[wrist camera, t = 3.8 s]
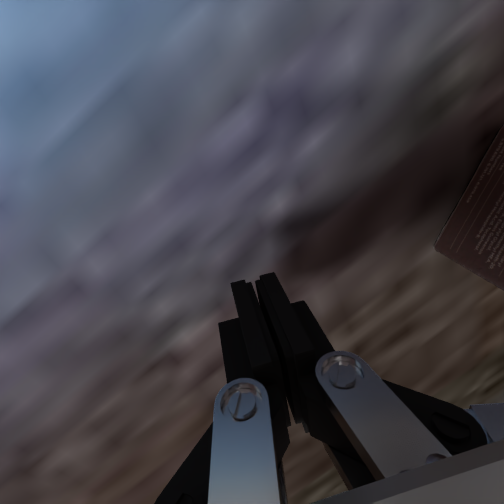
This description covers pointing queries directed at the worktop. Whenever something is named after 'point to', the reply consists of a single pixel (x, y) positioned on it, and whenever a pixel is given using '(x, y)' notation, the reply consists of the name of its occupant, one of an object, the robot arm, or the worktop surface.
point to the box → (480, 220)
